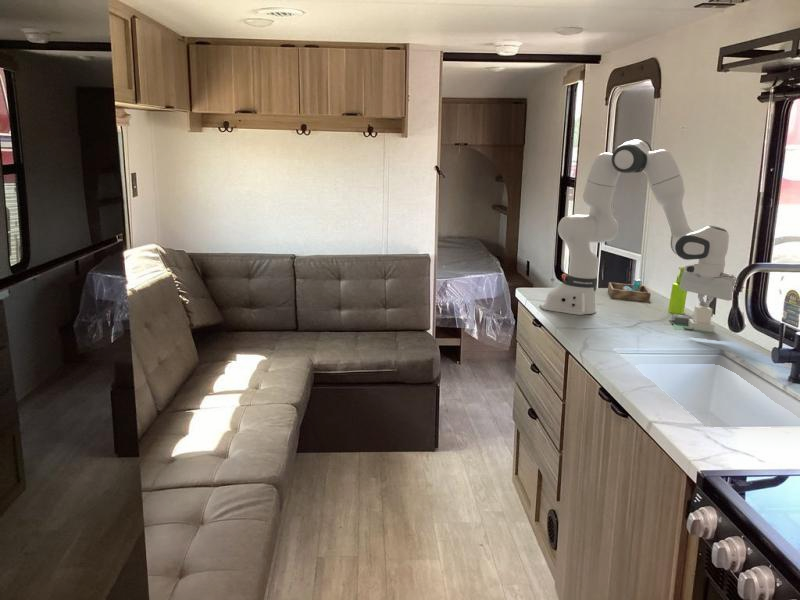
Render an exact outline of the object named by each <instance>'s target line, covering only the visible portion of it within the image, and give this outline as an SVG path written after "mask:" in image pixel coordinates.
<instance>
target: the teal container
mask: <svg viewBox="0 0 800 600" xmlns="http://www.w3.org/2000/svg"><path fill="white" fill-rule="evenodd" d="M632 285H633V289H631V288H630V287H629V286H624V287H623V289H622V290H628V291H638V292H641V286H643V280H642V279H640V278H634V279H633V283H632Z"/></svg>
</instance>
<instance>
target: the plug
mask: <svg viewBox="0 0 800 600" xmlns="http://www.w3.org/2000/svg"><path fill="white" fill-rule="evenodd" d="M713 316H714V310H713V308H711V307H710V306H709V308H705V307H701V306H699V305H695V306H694V311H693V316H692V319H693V322H694V323H701V324H710V321H711V320H712V318H713ZM711 322H712V321H711Z"/></svg>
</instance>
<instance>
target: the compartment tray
mask: <svg viewBox="0 0 800 600" xmlns="http://www.w3.org/2000/svg"><path fill="white" fill-rule="evenodd" d="M671 327H673V329H674V330H675V331H676V330H677V331H685V332H696V333H704V334H712V335H715V334H716V332H715V331H714V330H715V324H714V323H712V321H710V324H701V323H694V322H693V318H690V319H689V321H688V325H684V324H675V323H674V325H672V324H671Z"/></svg>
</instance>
